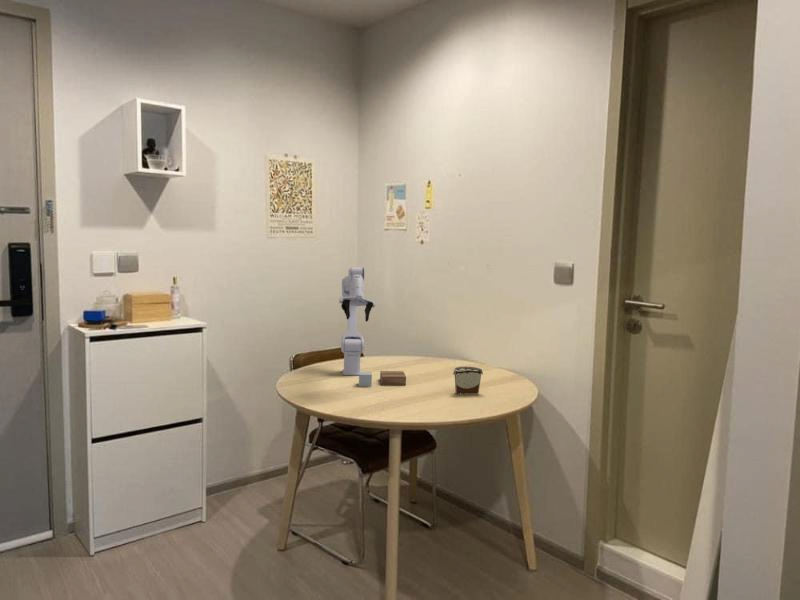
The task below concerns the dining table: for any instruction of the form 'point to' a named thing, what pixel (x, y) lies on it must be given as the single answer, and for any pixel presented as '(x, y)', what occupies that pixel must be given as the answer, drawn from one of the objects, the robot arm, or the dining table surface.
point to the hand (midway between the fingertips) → (357, 319)
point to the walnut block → (392, 378)
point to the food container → (467, 379)
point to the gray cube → (365, 379)
